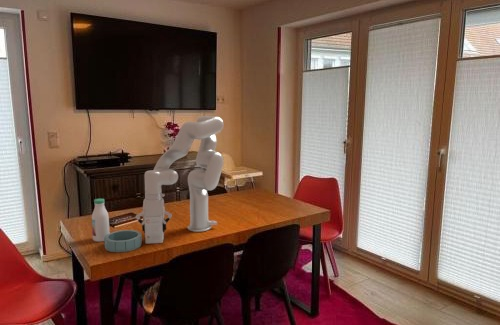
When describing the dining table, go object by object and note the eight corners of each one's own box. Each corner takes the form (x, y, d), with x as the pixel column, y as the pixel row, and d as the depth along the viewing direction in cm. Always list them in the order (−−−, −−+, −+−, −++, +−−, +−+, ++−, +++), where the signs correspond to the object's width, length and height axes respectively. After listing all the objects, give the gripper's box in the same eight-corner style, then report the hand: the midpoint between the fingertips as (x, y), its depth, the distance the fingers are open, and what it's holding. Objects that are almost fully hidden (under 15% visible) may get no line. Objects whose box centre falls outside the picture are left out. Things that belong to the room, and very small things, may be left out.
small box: (164, 238, 185) (163, 213, 183) (162, 243, 179) (161, 216, 177) (147, 239, 184) (146, 213, 182) (145, 243, 178) (144, 217, 176)
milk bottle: (112, 236, 188) (110, 197, 185) (106, 242, 180) (104, 201, 177) (96, 236, 187) (94, 197, 184) (90, 242, 180) (87, 201, 177)
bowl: (143, 239, 184) (142, 229, 184) (139, 251, 169) (139, 240, 168) (108, 240, 181) (108, 230, 181) (102, 253, 166) (101, 242, 165)
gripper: (172, 194, 183) (173, 228, 186) (135, 195, 180) (136, 230, 183) (171, 197, 176) (172, 233, 178) (133, 199, 173) (134, 235, 175)
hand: (154, 231), depth 181 cm, fingers closed on small box, 8 cm apart
